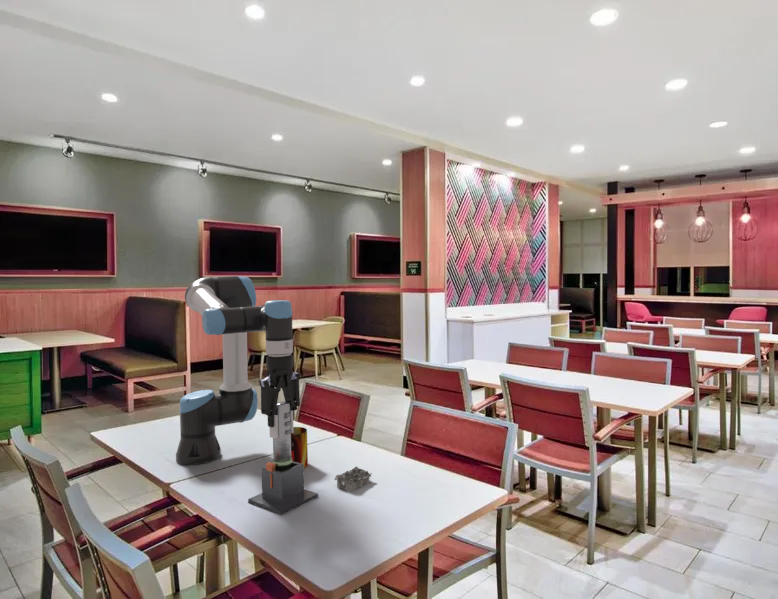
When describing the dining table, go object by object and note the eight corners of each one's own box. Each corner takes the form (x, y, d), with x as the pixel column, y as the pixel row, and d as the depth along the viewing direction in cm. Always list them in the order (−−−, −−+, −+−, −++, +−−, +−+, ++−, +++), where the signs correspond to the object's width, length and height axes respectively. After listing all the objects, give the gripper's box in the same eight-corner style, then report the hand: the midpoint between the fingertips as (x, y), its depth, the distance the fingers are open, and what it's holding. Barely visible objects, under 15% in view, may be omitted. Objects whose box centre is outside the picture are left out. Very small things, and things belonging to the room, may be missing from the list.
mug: (292, 477, 168) (291, 440, 168) (274, 464, 180) (273, 430, 179) (318, 470, 174) (317, 434, 173) (300, 458, 185) (299, 425, 185)
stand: (248, 502, 150) (247, 461, 149) (285, 486, 161) (284, 447, 161) (281, 515, 142) (280, 471, 141) (318, 496, 153) (317, 456, 152)
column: (269, 473, 150) (267, 404, 150) (283, 467, 155) (281, 400, 154) (283, 477, 147) (281, 407, 146) (297, 471, 151) (295, 402, 150)
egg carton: (349, 493, 155) (349, 480, 155) (332, 487, 160) (332, 474, 160) (374, 482, 164) (373, 469, 163) (356, 476, 168) (356, 464, 168)
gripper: (263, 360, 140) (265, 446, 141) (311, 351, 154) (313, 429, 156) (245, 357, 144) (247, 441, 145) (294, 349, 159) (296, 425, 160)
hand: (281, 434), depth 151 cm, fingers open, 5 cm apart
